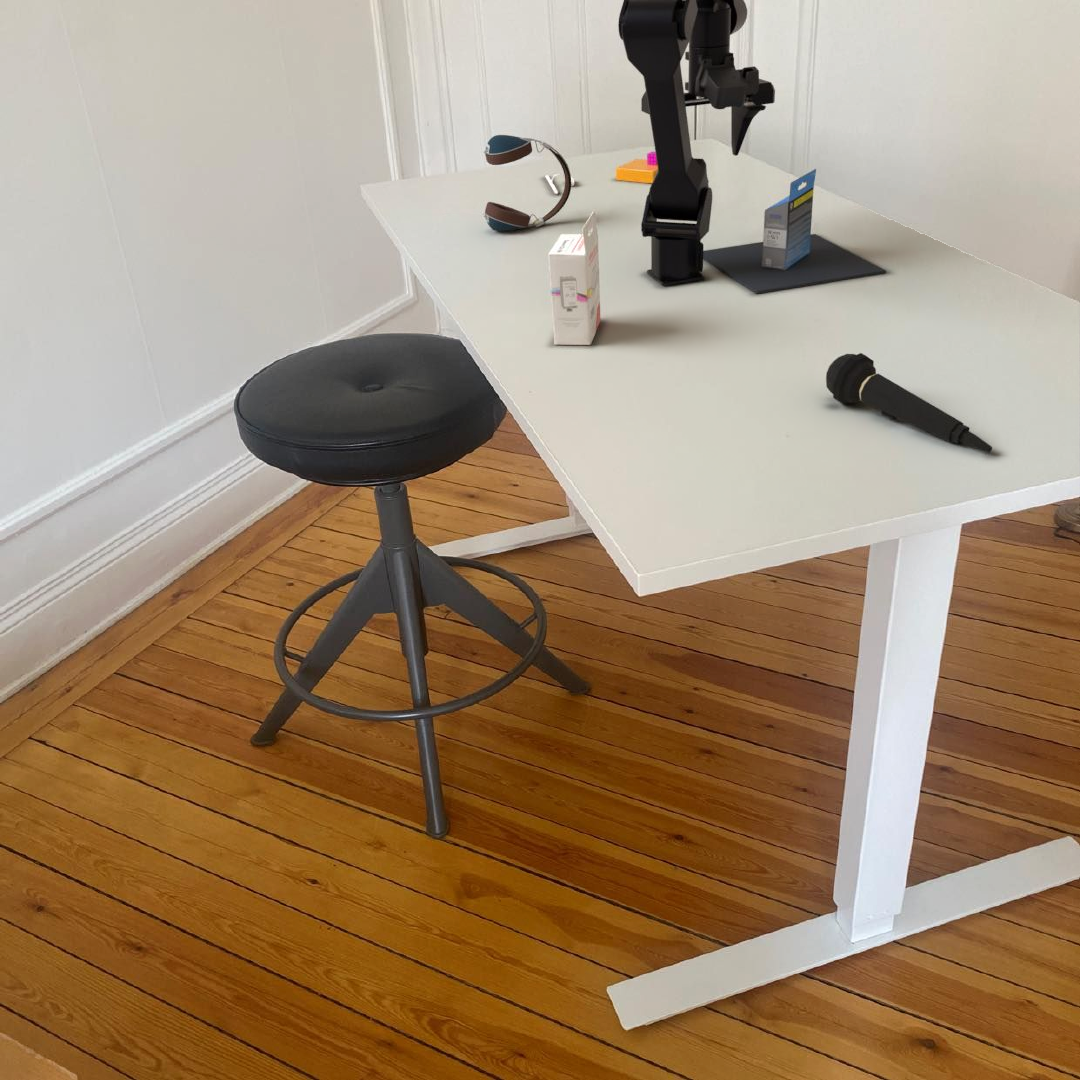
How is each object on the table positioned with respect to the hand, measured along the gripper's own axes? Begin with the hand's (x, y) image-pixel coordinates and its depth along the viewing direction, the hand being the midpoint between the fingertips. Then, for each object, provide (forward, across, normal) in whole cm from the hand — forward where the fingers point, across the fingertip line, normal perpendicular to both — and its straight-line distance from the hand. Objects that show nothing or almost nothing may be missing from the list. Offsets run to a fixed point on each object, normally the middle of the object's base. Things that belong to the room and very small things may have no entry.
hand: (706, 158), depth 165 cm
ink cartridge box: (+13, -30, -27) cm, 43 cm away
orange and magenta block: (+13, +8, +45) cm, 48 cm away
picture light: (+13, -8, +47) cm, 49 cm away
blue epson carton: (+13, +7, -13) cm, 20 cm away
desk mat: (+13, +7, -14) cm, 20 cm away
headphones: (+13, -25, +23) cm, 36 cm away
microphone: (+13, -8, -66) cm, 68 cm away
